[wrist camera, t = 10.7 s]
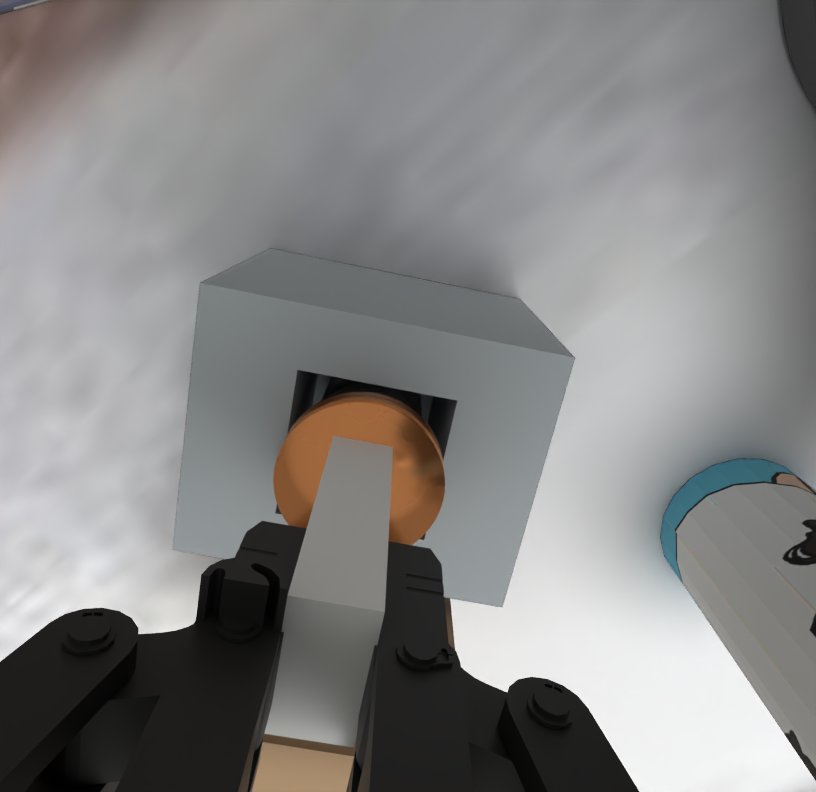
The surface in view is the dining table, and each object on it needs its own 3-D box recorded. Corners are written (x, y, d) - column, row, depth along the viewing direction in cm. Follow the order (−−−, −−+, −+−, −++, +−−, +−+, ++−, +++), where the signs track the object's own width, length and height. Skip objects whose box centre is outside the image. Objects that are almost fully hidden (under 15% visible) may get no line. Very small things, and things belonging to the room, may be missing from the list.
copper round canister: (322, 327, 23) (286, 389, 16) (446, 351, 23) (462, 422, 16) (303, 443, 24) (262, 544, 17) (421, 465, 24) (425, 573, 18)
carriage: (260, 486, 28) (145, 723, 16) (442, 519, 29) (467, 774, 16) (243, 603, 30) (128, 895, 18) (414, 632, 30) (418, 936, 18)
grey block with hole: (270, 248, 25) (199, 282, 17) (520, 299, 26) (575, 357, 17) (245, 436, 28) (172, 549, 19) (474, 479, 28) (502, 607, 20)
